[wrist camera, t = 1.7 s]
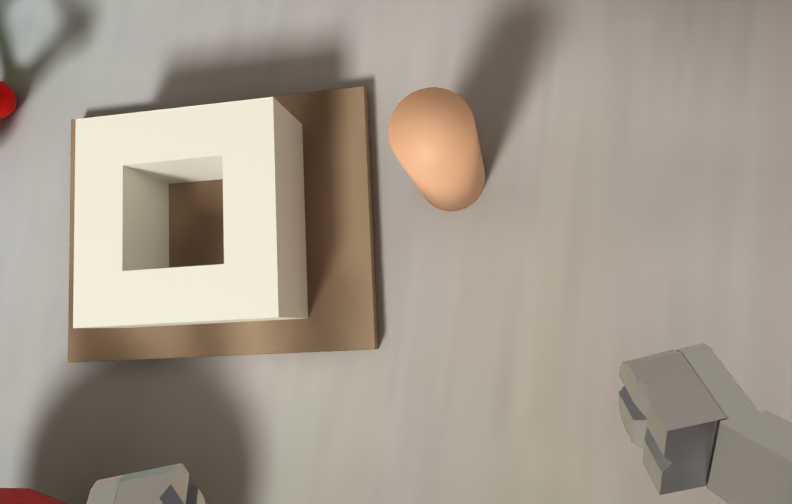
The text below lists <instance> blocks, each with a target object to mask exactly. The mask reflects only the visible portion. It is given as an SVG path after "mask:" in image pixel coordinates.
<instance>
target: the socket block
mask: <svg viewBox="0 0 792 504" xmlns="http://www.w3.org/2000/svg"><path fill="white" fill-rule="evenodd" d="M218 179H223V228H224V264H217V265H203V266H188V267H173V268H169V184H174V183H185V182H196V181H207V180H218ZM306 318H308V297H307V264H306V231H305V199H304V166H303V133H302V124H301V123H300V122H299V121H298V120H297V119H296V118H295V117H294V116H293V115H292V114H291V113H290V112H289V111H288V110H287V109H285V108H284V107H283V106H282V105H281V104H280V103H279V102H278V101H277V100H276V99H275V98H274V97H266V98H258V99H249V100H240V101H231V102H222V103H214V104H205V105H196V106H187V107H179V108H170V109H161V110H152V111H143V112H135V113H126V114H117V115H108V116H100V117H91V118H82V119H76V128H75V206H74V284H73V328H133V327H152V326H171V325H191V324H210V323H229V322H248V321H267V320H286V319H306Z"/></svg>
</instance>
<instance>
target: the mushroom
mask: <svg viewBox="0 0 792 504" xmlns="http://www.w3.org/2000/svg"><path fill="white" fill-rule="evenodd" d="M0 504H66V503H63V502H61V501H58V500H56V499H54V498H51V497H49V496H46V495H44V494H41V493H39V492H36V491H34V490H31V489H23V488H0Z"/></svg>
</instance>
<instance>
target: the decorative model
mask: <svg viewBox="0 0 792 504" xmlns="http://www.w3.org/2000/svg"><path fill="white" fill-rule="evenodd" d="M15 108H16V96H15V93H14V92H13V90H12V89H11V88H10V87H9V86H7V85H6V84H5V83H3V82H1V81H0V119H2V118H5V117H8V116H9V115H10V114H11V113H13V111H14V110H15Z"/></svg>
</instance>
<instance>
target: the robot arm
mask: <svg viewBox="0 0 792 504" xmlns="http://www.w3.org/2000/svg"><path fill="white" fill-rule="evenodd" d="M619 376H620V378H621V380H622V382H623V384H624V387H623V388H622V389H621V390H620V392H619V409H620V413H621V418H622V421H623V424H624V426H625V429H626V431H627V433H628V435H629V437H630V439H631V441H632V443H634V444H636V445H637V446H639V447H641V448H642V449H644V454H643V464H644V466H645V468H646V470H647V472H648V474H649V476H650V478H651V479H652V481H653V483H654V485H655V487H656V489H657V491H658V493H659V494H660V495H662V494H667V493H672V492H677V491H682V490H687V489H692V488H697V487H702V486H707V485H708V486H707V488H708V489H709V490H710V491H712V492H713V493H714V494H716V495H717V496H718V497H720V498H721V499H723V500H724V501H725V502H727V503H728V504H792V423H791V422H789V421H787V420H785V419H783V418H781V417H779V416H778V415H776V414H774V413H772V412H770V411H768V410H767V411H761V412H759V411H758V410H757V409H756V407H755V406H754V405H753V403H752V402H751V401H750V399H749V398H748V397H747V395H746V394H745V393H744V391H743V390H742V389H741V387H740V386H739V385H738V383H737V382H736V381H735V379H734V378H733V377H732V375H731V374H730V373H729V371H728V370H727V369H726V368H725V366H724V365H723V364H722V362H721V361H720V360H719V358H718V357H717V356H716V354H715V353H714V352H713V350H712V349H711V348H710V347H709V346H708V345H706V344H699V345H695V346H690V347H686V348H681V349H677V350H670V351H666V352H662V353H658V354H654V355H649V356H645V357H641V358H637V359H633V360H629V361H624V362H622V364H621V366H620V375H619ZM189 474H190V473H189V472H188V471H187V469H186V468H185V466H184V465H183V464H182V463H179V464H174V465H169V466H164V467H159V468H154V469H149V470H144V471H139V472H134V473H129V474H124V475H119V476H115V477H110V478H105V479H101V480H97V481H96V482H95V484H94V485H93V487H92V488H91V490H90V493H89V497H88V500H87V504H206V503H205V500H204V497H203V495H202V493H201V491H200V490H199V488H198V487H195V486H193V485H191V484H188V481H189Z"/></svg>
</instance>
